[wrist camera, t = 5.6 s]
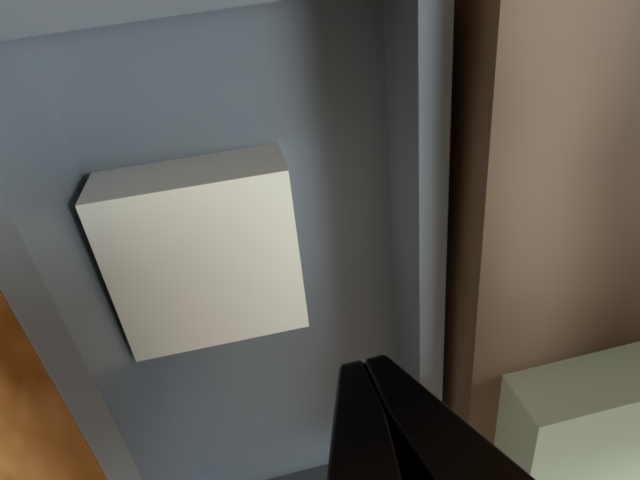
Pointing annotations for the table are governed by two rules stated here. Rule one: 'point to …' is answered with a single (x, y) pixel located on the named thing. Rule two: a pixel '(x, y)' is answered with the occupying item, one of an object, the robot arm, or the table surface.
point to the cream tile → (197, 249)
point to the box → (218, 136)
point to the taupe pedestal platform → (540, 191)
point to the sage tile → (574, 417)
